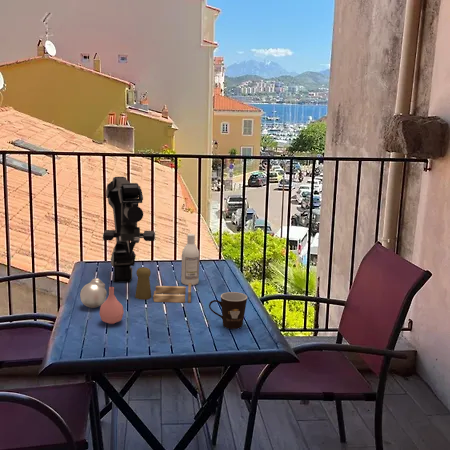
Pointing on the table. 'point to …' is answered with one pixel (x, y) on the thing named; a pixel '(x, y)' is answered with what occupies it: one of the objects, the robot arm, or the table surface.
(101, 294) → the silver christmas ornament
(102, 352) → the table surface
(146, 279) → the cork
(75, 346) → the table surface
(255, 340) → the table surface
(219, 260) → the table surface
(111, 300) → the pink bulb vase
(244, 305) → the coffee mug
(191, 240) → the bath foam
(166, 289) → the cradle
